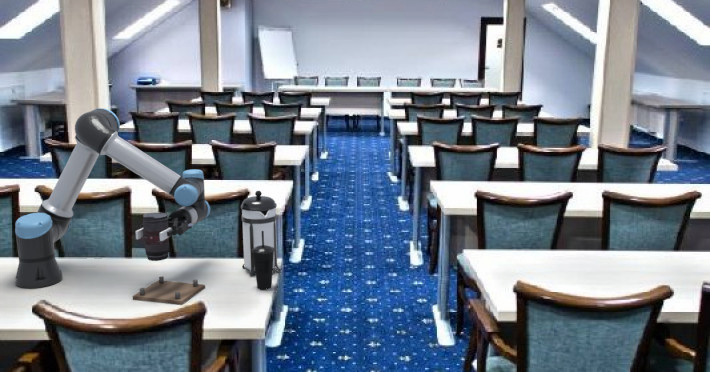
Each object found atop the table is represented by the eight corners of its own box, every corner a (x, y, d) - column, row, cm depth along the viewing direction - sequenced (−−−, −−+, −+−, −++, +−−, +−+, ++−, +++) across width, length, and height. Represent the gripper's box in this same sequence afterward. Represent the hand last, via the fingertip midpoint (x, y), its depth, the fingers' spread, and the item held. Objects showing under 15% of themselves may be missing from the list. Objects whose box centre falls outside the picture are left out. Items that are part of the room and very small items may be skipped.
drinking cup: (279, 285, 251) (277, 229, 246) (269, 292, 244) (267, 235, 239) (259, 282, 253) (257, 227, 249) (249, 289, 246) (247, 233, 242)
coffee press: (290, 266, 270) (288, 187, 264) (267, 279, 256) (264, 196, 250) (251, 260, 278) (248, 183, 271) (226, 272, 263) (223, 192, 257)
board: (132, 299, 238) (131, 290, 237) (158, 283, 253) (157, 274, 252) (181, 304, 233) (181, 295, 232) (205, 288, 248) (204, 279, 247)
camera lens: (164, 262, 238) (160, 218, 235) (141, 261, 240) (137, 217, 237) (174, 255, 246) (171, 212, 243) (152, 253, 248) (149, 211, 244)
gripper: (209, 230, 256) (178, 249, 235) (157, 227, 262) (121, 245, 240) (208, 210, 255) (176, 226, 233) (155, 207, 260) (119, 223, 239)
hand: (148, 236), depth 237 cm, fingers closed on camera lens, 8 cm apart
